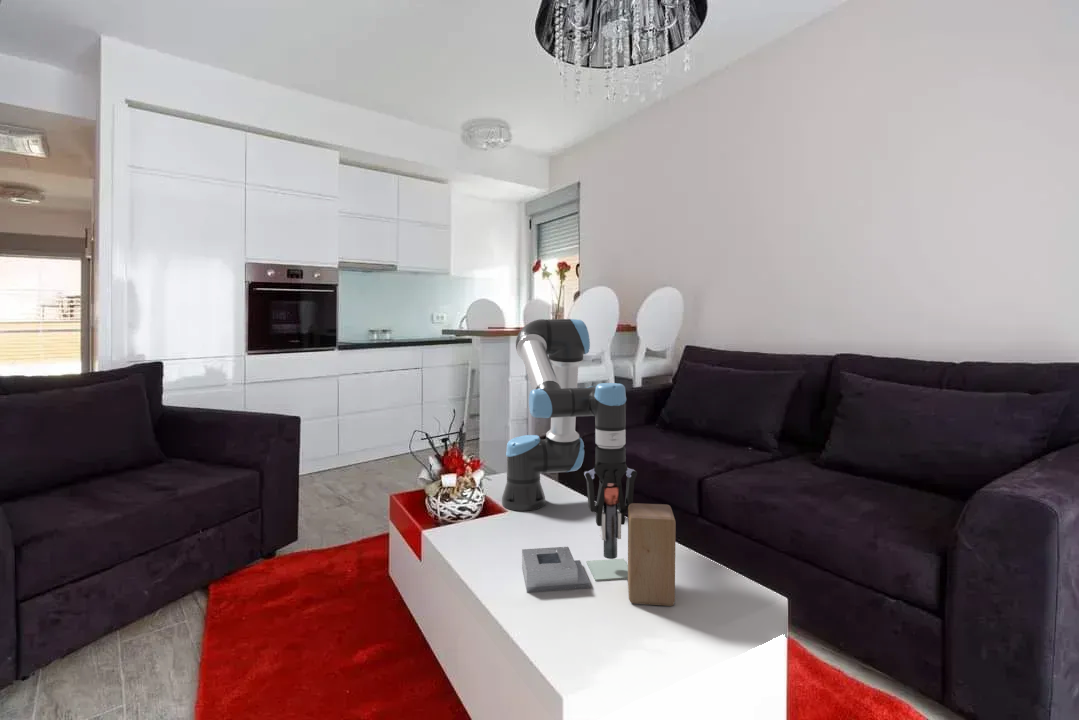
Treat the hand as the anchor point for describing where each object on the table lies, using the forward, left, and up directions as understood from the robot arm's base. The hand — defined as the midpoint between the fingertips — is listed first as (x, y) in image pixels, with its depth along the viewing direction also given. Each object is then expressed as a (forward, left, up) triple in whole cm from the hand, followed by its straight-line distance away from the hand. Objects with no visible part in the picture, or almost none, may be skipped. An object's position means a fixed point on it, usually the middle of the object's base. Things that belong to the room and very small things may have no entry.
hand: (610, 537), depth 130 cm
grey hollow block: (+2, -15, -9) cm, 17 cm away
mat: (0, 0, -9) cm, 9 cm away
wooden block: (+13, +6, -9) cm, 17 cm away
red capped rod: (0, 0, -5) cm, 5 cm away
